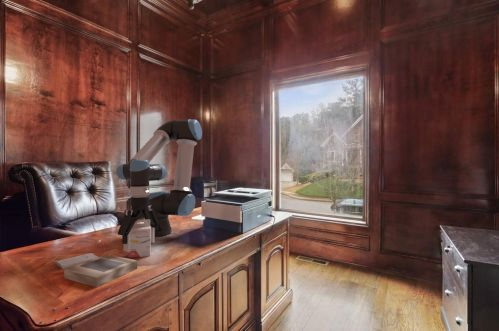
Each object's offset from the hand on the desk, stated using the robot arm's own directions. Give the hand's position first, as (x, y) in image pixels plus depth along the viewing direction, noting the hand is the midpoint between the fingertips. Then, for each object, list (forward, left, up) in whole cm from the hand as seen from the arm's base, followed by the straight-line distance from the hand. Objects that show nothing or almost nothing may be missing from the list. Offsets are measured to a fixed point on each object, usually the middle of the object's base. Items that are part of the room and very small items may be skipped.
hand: (139, 246), depth 112 cm
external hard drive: (+15, -17, -4) cm, 23 cm away
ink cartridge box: (0, 0, -4) cm, 4 cm away
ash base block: (+19, +2, -4) cm, 19 cm away
